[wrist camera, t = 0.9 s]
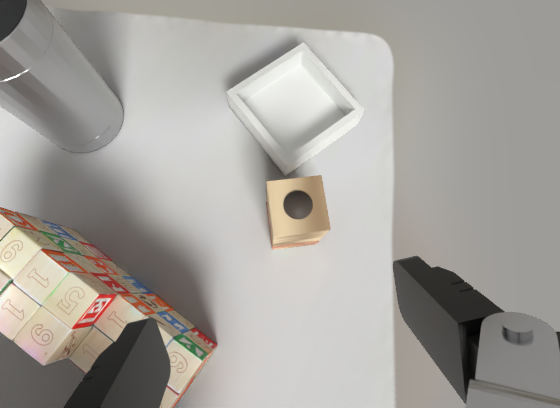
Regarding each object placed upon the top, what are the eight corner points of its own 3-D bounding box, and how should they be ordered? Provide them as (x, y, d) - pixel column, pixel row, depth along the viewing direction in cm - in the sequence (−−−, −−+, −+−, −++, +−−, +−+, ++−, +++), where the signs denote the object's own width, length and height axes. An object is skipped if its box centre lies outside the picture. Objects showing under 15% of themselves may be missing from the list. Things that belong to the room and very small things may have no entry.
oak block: (271, 250, 38) (272, 237, 29) (266, 207, 40) (265, 180, 30) (315, 244, 39) (331, 229, 29) (308, 202, 40) (322, 174, 30)
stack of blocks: (220, 343, 36) (196, 370, 24) (182, 396, 35) (137, 453, 23) (73, 228, 39) (-15, 200, 27) (32, 273, 37) (-80, 266, 25)
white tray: (229, 107, 43) (226, 91, 39) (300, 60, 45) (303, 42, 41) (285, 176, 41) (286, 166, 37) (357, 124, 43) (364, 110, 39)
